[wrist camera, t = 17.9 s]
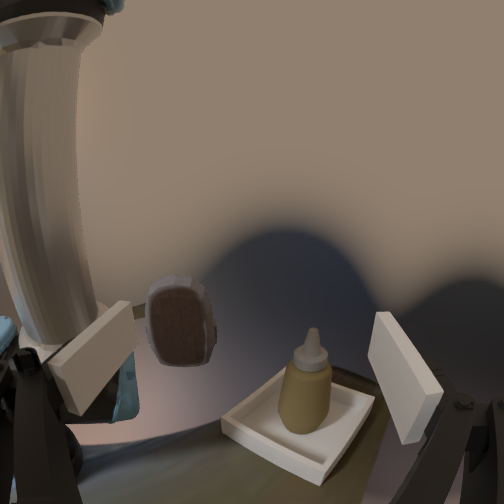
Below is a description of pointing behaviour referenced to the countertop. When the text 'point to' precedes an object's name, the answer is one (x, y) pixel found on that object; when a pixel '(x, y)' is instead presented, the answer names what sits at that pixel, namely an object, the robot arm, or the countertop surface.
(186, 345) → the small grey backpack
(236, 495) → the countertop surface
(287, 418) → the squeeze bottle
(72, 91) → the robot arm
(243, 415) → the box
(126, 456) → the countertop surface
